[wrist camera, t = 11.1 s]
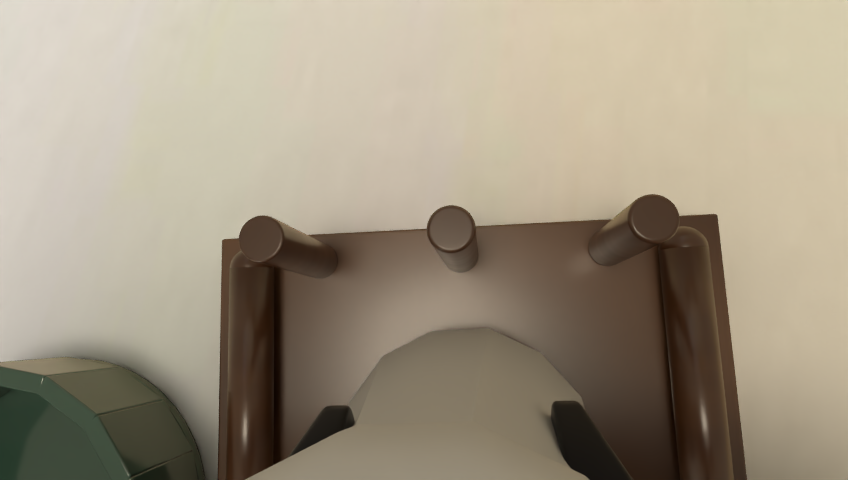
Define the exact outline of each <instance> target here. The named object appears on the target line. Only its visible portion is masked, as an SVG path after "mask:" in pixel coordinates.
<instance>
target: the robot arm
mask: <svg viewBox="0 0 848 480" xmlns="http://www.w3.org/2000/svg"><path fill="white" fill-rule="evenodd" d="M551 420H552V424H553V427H554V431H555V434H556V437H557V441H558V444H559V448H560V451H561V454H562V456H563V458H564V460H565V461H566V463H567V464H568V465H569V467H570V468H571V469H572V470H574V471H577V472H579V473H581V474H583V475H585V476H586V477H587V478H588V479H589V480H633V479H632V477H631V476H630V474H629V473H628V471H627V470H626V469H625V467H624V466H623V464H622V463H621V461H620V460H619V458H618V457H617V456H616V454H615V453H614V451H613V450H612V448H611V447H610V445H609V444H608V443H607V441H606V440H605V438H604V437H603V435H602V434H601V432H600V431H599V430H598V428H597V427H596V425H595V424H594V422H593V421H592V419H591V418H590V417H589V415H588V414H587V412H586V411H585V409H584V408H583V406H582V405H581V404H580V403H579V402H577V401H554V402H553V403H552V406H551ZM354 423H355V420H354V417H353V413H352V410H351V408H350V407H349V406H347V405H335V406H326V407H325V408H324V409H322V411H321V412H320V413H319V415H318V416H317V418H316V419H315V420H314V422H313V423H312V424H311V426H310V427H309V429H308V430H307V431H306V433H305V434H304V436H303V437H302V438H301V440H300V441H299V442H298V444H297V445H296V447H295V448H294V449H293V451H292V452H291V454H290V455H289V456H288V457H290V456H292V455H294V454H296V453H298V452H300V451H302V450H304V449H306V448H308V447H310V446H312V445H314V444H316V443H318V442H320V441H322V440H324V439H326V438H327V437H329V436H331V435H333V434H335V433H337V432H340V431H342V430H345V429H347V428H350V427H352V426H353V425H354Z"/></svg>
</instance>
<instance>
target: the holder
mask: <svg viewBox="0 0 848 480" xmlns="http://www.w3.org/2000/svg"><path fill="white" fill-rule="evenodd" d="M0 480H205V477H204V472H203V467H202V463H201V458H200V455H199V452H198V449H197V446H196V444H195V441H194V438H193V436H192V434H191V432H190V430H189V428H188V426H187V424H186V422H185V421H184V419H183V418H182V416H181V415H180V413H179V412H178V410H177V409H176V408H175V406H174V405H173V404H172V403H171V402H170V401H169V400H168V398H167V397H166V396H165V395H164V394H163V393H162V392H161V391H160V390H158V389H157V388H156V387H155V386H154V385H152V384H151V383H150V382H149V381H147V380H146V379H144V378H142V377H141V376H139V375H138V374H136V373H134V372H132V371H130V370H128V369H126V368H123V367H121V366H119V365H115V364H112V363H108V362H104V361H99V360H91V359H77V358H72V357H58V358H45V359H32V360H19V361H7V362H0Z"/></svg>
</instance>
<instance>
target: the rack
mask: <svg viewBox="0 0 848 480" xmlns="http://www.w3.org/2000/svg"><path fill="white" fill-rule="evenodd" d="M480 328H489V329H491V330H494V331H496V332H498V333H500V334H502V335H504V336H506V337H508V338H511V339H513V340H515V341H517V342H519V343H521V344H523V345H525V346H528V347H530V348H532V349H534V350H536V351H538V352H540V353H541V354H542V355H543V356H544V357H545V358H546V359H547V360H548V361H549V362H550V363H551V364H552V366H553V367H554V368H555V369H556V370H557V371H558V372H559V373H560V374H561V375H562V376H563V378H564V379H565V380H566V381H567V382H568V383H569V384H570V385H571V386H572V387H573V388H574V390H575V391H576V392H577V393H578V394H579V395H580V396H581V397H582V401H583V405H584V408H585V411H586V412H587V414H588V415H589V417H590V418H591V419H592V421H593V422H594V424H595V425H596V427H597V428H598V430H599V431H600V432H601V434H602V435H603V437H604V438H605V440H606V441H607V443H608V444H609V445H610V447H611V448H612V450H613V451H614V453H615V454H616V456H617V457H618V458H619V460H620V461H621V463H622V464H623V466H624V467H625V469H626V470H627V471H628V473H629V474H630V476H631V477H632V479H633V480H747V476H746V467H745V458H744V449H743V440H742V431H741V422H740V413H739V404H738V395H737V387H736V378H735V369H734V360H733V351H732V342H731V333H730V324H729V315H728V306H727V297H726V288H725V279H724V271H723V262H722V253H721V244H720V235H719V226H718V217H717V215H716V214H707V215H687V216H679V213H678V211H677V208H676V207H675V205H674V204H673V203H672V202H671V201H670V200H668V199H667V198H665V197H663V196H660V195H655V194H650V195H645V196H642V197H640V198H638V199H637V200H635V201H634V202H633V203H632V204H630V205H629V206H628V207H627V208H626V209H624V210H623V211H622V212H621V213H620V214H618V215H617V216H616V217H615V218H613V219H609V220H590V221H570V222H551V223H531V224H512V225H492V226H475V222H474V219H473V218H472V216H471V215H470V213H469V212H468V211H466V210H465V209H463V208H461V207H459V206H454V205H449V206H444V207H441V208H440V209H438V210H436V211H435V212H434V213H433V214H432V215H431V217H430V219H429V221H428V224H427V229H414V230H395V231H375V232H356V233H336V234H317V235H306V234H304V233H302V232H300V231H298V230H296V229H294V228H292V227H290V226H288V225H286V224H284V223H282V222H280V221H278V220H276V219H274V218H272V217H269V216H257V217H254V218H252V219H250V220H249V221H248V222H246V223H245V225H244V226H243V227H242V229H241V231H240V235H239V239H224V240H222V279H221V334H220V388H219V442H218V480H245V479H247V478H249V477H251V476H253V475H255V474H257V473H259V472H261V471H263V470H265V469H267V468H269V467H271V466H273V465H275V464H277V463H279V462H281V461H283V460H284V459H286V458H288V456H289V455H290V454H291V452H292V451H293V449H294V448H295V447H296V445H297V444H298V442H299V441H300V440H301V438H302V437H303V436H304V434H305V433H306V431H307V430H308V429H309V427H310V426H311V424H312V423H313V422H314V420H315V419H316V418H317V416H318V415H319V413H320V412H321V411H322V409H324V408H325V407H326V406H335V405H347V406H348V405H349V402H350V401H351V399H352V398H353V397H354V395H355V394H356V393H357V391H358V390H359V388H360V387H361V386H362V384H363V383H364V381H365V380H366V379H367V377H368V376H369V374H370V373H371V372H372V370H373V369H374V368H375V366H376V365H377V363H378V362H379V361H380V359H381V358H382V356H384V355H386V354H388V353H390V352H392V351H394V350H396V349H397V348H399V347H401V346H403V345H405V344H407V343H409V342H411V341H413V340H415V339H417V338H419V337H421V336H423V335H425V334H427V333H429V332H431V331H442V330H461V329H480Z"/></svg>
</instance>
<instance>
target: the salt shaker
mask: <svg viewBox="0 0 848 480" xmlns="http://www.w3.org/2000/svg"><path fill="white" fill-rule="evenodd" d="M554 401H577V402H579V403H580V404H581V405H582V406H583V408H584V405H583V401H582V397H581V396H580V395H579V394H578V393H577V392H576V391H575V390H574V388H573V387H572V386H571V385H570V384H569V383H568V382H567V381H566V380H565V379H564V378H563V376H562V375H561V374H560V373H559V372H558V371H557V370H556V369H555V368H554V367H553V366H552V364H551V363H550V362H549V361H548V360H547V359H546V358H545V357H544V356H543V355H542V354H541V353H540V352H538V351H536V350H534V349H532V348H530V347H528V346H525V345H523V344H521V343H519V342H517V341H515V340H513V339H511V338H508V337H506V336H504V335H502V334H500V333H498V332H496V331H494V330H491V329H489V328H480V329H461V330H442V331H431V332H429V333H427V334H425V335H423V336H421V337H419V338H417V339H415V340H413V341H411V342H409V343H407V344H405V345H403V346H401V347H399V348H397V349H396V350H394V351H392V352H390V353H388V354H386V355H384V356H382V358H381V359H380V361H379V362H378V363H377V365H376V366H375V368H374V369H373V370H372V372H371V373H370V374H369V376H368V377H367V379H366V380H365V381H364V383H363V384H362V386H361V387H360V388H359V390H358V391H357V393H356V394H355V395H354V397H353V398H352V399H351V401H350V402H349V405H348V406H349V407H350V408H351V410H352V413H353V417H354V420H355V423H354V425H353V426H352V427H350V428H347V429H345V430H342V431H340V432H337V433H335V434H333V435H331V436H329V437H327V438H326V439H324V440H322V441H320V442H318V443H316V444H314V445H312V446H310V447H308V448H306V449H304V450H302V451H300V452H298V453H296V454H294V455H292V456H290V457H288V458H286V459H284V460H283V461H281V462H279V463H277V464H275V465H273V466H271V467H269V468H267V469H265V470H263V471H261V472H259V473H257V474H255V475H253V476H251V477H249V478H247V479H245V480H589V479H588V478H587V477H586V476H585V475H583V474H581V473H579V472H577V471H574V470H572V469H571V468H570V467H569V465H568V464H567V463H566V461H565V460H564V458H563V456H562V454H561V451H560V448H559V444H558V441H557V437H556V434H555V431H554V427H553V424H552V420H551V406H552V403H553V402H554ZM584 409H585V408H584Z"/></svg>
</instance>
